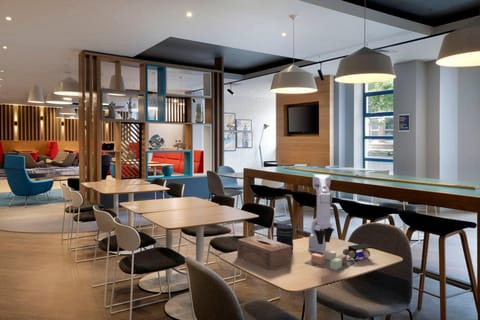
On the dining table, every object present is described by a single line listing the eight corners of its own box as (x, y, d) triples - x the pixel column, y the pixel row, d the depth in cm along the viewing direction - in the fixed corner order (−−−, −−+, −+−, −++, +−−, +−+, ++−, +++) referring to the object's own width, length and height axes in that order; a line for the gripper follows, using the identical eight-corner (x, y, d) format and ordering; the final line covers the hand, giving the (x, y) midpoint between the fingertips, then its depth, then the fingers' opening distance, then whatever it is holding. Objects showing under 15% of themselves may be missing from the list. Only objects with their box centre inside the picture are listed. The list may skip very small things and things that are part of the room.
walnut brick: (341, 266, 191) (341, 258, 191) (335, 264, 194) (336, 257, 193) (346, 263, 196) (346, 255, 196) (340, 261, 198) (341, 254, 198)
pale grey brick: (322, 258, 204) (323, 250, 203) (325, 256, 206) (325, 249, 206) (333, 260, 200) (333, 253, 200) (335, 259, 202) (336, 251, 202)
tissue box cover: (291, 265, 193) (291, 246, 192) (270, 271, 184) (271, 251, 183) (257, 252, 213) (257, 235, 212) (237, 257, 204) (237, 239, 203)
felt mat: (304, 263, 196) (304, 262, 196) (323, 254, 211) (323, 253, 211) (339, 272, 184) (339, 271, 184) (355, 262, 199) (355, 261, 199)
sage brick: (336, 270, 186) (336, 262, 186) (330, 268, 188) (330, 260, 188) (341, 266, 190) (341, 259, 190) (335, 265, 192) (336, 257, 192)
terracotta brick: (311, 262, 197) (311, 254, 197) (314, 260, 199) (314, 253, 199) (321, 264, 193) (321, 257, 193) (324, 263, 196) (324, 255, 195)
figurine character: (351, 264, 198) (373, 259, 204) (350, 250, 197) (372, 245, 203) (342, 261, 204) (364, 255, 210) (342, 247, 203) (364, 242, 209)
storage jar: (272, 252, 213) (272, 226, 212) (281, 248, 221) (282, 223, 220) (286, 256, 207) (287, 229, 206) (296, 252, 214) (297, 226, 213)
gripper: (325, 218, 186) (324, 246, 186) (337, 216, 197) (337, 242, 197) (312, 217, 190) (311, 244, 190) (325, 214, 202) (324, 240, 201)
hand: (323, 243), depth 194 cm, fingers open, 7 cm apart
